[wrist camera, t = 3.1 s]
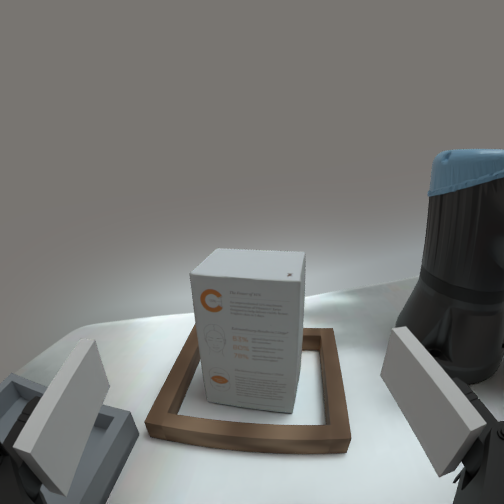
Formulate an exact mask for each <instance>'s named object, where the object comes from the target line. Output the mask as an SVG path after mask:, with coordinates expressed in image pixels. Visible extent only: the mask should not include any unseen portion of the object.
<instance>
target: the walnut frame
mask: <svg viewBox="0 0 504 504" xmlns="http://www.w3.org/2000/svg"><path fill="white" fill-rule="evenodd" d="M302 350H319V351H320V361H321V371H322V381H323V392H324V404H325V417H326V425H274V424H255V423H242V422H231V421H221V420H212V419H204V418H197V417H190V416H183V415H177V413H178V411H179V409H180V406H181V404H182V402H183V399H184V397H185V394H186V392H187V390H188V387H189V385H190V382H191V380H192V378H193V375H194V373H195V371H196V368H197V366H198V363H199V361H200V352H199V344H198V337H197V330H196V323H195V325H194V327H193V329H192V331H191V333H190V335H189V337H188V338H187V340H186V342H185V344H184V346H183V348H182V350H181V352H180V354H179V356H178V358H177V359H176V361H175V363H174V365H173V367H172V369H171V371H170V373H169V375H168V377H167V379H166V381H165V383H164V385H163V386H162V388H161V390H160V392H159V394H158V396H157V398H156V400H155V402H154V404H153V406H152V408H151V410H150V412H149V414H148V416H147V418H146V420H145V422H144V423H145V425H146V428H147V430H148V433H149V435H150V437H154V438H159V439H164V440H169V441H174V442H179V443H185V444H191V445H197V446H204V447H211V448H219V449H228V450H237V451H248V452H263V453H284V454H327V453H347V450H348V447H349V444H350V441H351V432H350V425H349V418H348V411H347V405H346V399H345V392H344V386H343V380H342V375H341V369H340V363H339V358H338V352H337V347H336V342H335V336H334V331H333V328H303V340H302Z"/></svg>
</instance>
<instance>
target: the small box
mask: <svg viewBox="0 0 504 504" xmlns="http://www.w3.org/2000/svg"><path fill="white" fill-rule="evenodd" d="M305 262H306V261H305V252H290V251H289V252H288V251H267V250H243V249H219V248H217V249H216V250H215V251H214V252H212V253H211V254H210V255H209V256H208V257H207V258H206V259H205V260H204V261H203V262H202V263H200V264H199V265H198V267H196V268H195V269H194V270H193V271H192V272H191V273H190V281H191V288H192V298H193V306H194V315H195V323H196V330H197V337H198V344H199V352H200V359H201V366H202V373H203V379H204V385H205V391H206V396H207V401H208V402H214V403H220V404H226V405H232V406H238V407H245V408H252V409H260V410H268V411H276V412H286V413H292V412H293V409H294V403H295V398H296V392H297V386H298V381H299V375H300V367H301V354H302V340H303V319H304V298H305Z"/></svg>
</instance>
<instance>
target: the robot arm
mask: <svg viewBox="0 0 504 504" xmlns="http://www.w3.org/2000/svg"><path fill="white" fill-rule="evenodd" d="M428 196H429V208H428V219H427V228H426V237H425V245H424V251H423V258H422V265H421V272H420V276H419V280H418V282H417V284H416V286H415V288H414V290H413V292H412V293H411V295H410V297H409V299H408V301H407V302H406V304H405V306H404V308H403V310H402V311H401V313H400V315H399V317H398V319H397V321H396V326H395V328H392V330H391V334H390V339H389V343H388V347H387V351H386V355H385V359H384V363H383V367H382V371H381V374H380V376H381V377H382V379H383V381H384V382H385V384H386V386H387V387H388V389H389V391H390V392H391V394H392V396H393V397H394V399H395V401H396V402H397V404H398V406H399V408H400V409H401V411H402V413H403V414H404V416H405V418H406V420H407V421H408V423H409V425H410V426H411V428H412V430H413V432H414V433H415V435H416V437H417V439H418V440H419V442H420V444H421V446H422V448H423V449H424V451H425V453H426V455H427V457H428V458H429V460H430V462H431V464H432V466H433V468H434V469H435V471H436V473H437V475H438V477H441V476H443V475H446V474H448V473H450V472H452V471H455V469H456V468H457V467H458V465H459V464H460V463H461V462H462V463H463V465H464V466H465V467H464V468H463V469H462V470H461V472H460V473H459V474H458V476H457V477H456V478H455V480H454V482H453V483H456V482H457V481H458V479H459V478H460V480H459V483H458V487H457V491H456V494H455V498H454V501H453V504H504V421H500V422H498V421H497V420H496V419H495V418H494V416H493V415H492V414H491V413H490V411H489V410H488V409H487V408H486V407H485V405H484V404H483V403H482V402H481V400H480V399H478V397H477V396H476V394H475V393H473V391H472V390H471V388H470V387H469V386H468V385H467V384H472V383H477V382H480V381H483V380H485V379H487V378H489V377H490V376H491V375H493V374H494V373H495V371H496V370H497V369H498V367H499V364H500V362H501V360H502V357H503V355H504V150H499V149H459V150H448V151H443V152H441V153H439V154H438V155H437V156H436V157H435V159H434V161H433V164H432V172H431V182H430V190H429V191H428ZM109 388H110V385H109V382H108V379H107V376H106V373H105V370H104V367H103V364H102V361H101V358H100V355H99V351H98V348H97V345H96V341H95V340H93V339H80V340H79V342H78V343H77V345H76V346H75V347H74V349H73V350H72V352H71V353H70V355H69V356H68V358H67V359H66V361H65V362H64V364H63V365H62V367H61V368H60V370H59V371H58V373H57V374H56V376H55V377H54V379H53V380H52V382H51V383H50V385H49V386H48V388H47V390H46V391H45V393H44V394H43V396H42V397H38V396H35V397H34V398H33V399H32V400H30V401H29V402H28V403H27V404H26V406H25V407H24V409H23V410H22V414H20V415H19V417H18V418H17V421H16V422H15V423H14V425H13V426H12V428H11V430H10V431H9V433H8V435H7V437H6V438H5V440H4V442H3V443H1V442H0V504H47V502H46V500H45V497H44V495H43V493H42V492H41V490H40V488H41V486H42V484H43V485H44V486H45V487H46V488H47V489H48V490H49V492H52V493H55V494H58V495H61V496H65V497H67V494H68V491H69V488H70V486H71V483H72V480H73V477H74V474H75V472H76V469H77V466H78V464H79V461H80V458H81V456H82V453H83V450H84V448H85V445H86V443H87V440H88V438H89V435H90V433H91V430H92V428H93V425H94V423H95V420H96V418H97V416H98V413H99V411H100V408H101V406H102V404H103V401H104V399H105V397H106V394H107V392H108V390H109Z"/></svg>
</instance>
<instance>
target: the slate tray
mask: <svg viewBox="0 0 504 504" xmlns="http://www.w3.org/2000/svg"><path fill="white" fill-rule="evenodd" d="M47 388H48V387H46V386H43V385H41V384H38V383H35V382H33V381H30V380H28V379H25V378H23V377H20V376H18V375H15V374H13V373H11V374H10V375H9V376H8V377H7V378H6V379H5V380H4V381H3V382H2V383H1V384H0V442H1V443H3V442H4V440H5V438H6V437H7V435H8V433H9V431H10V430H11V428H12V426H13V425H14V423H15V422H16V421H17V418H18V417H19V415H20V414H22V410H23V409H24V407H25V406H26V404H27V403H28V402H29V401H30V400H32V399H33V398H34V397H35V396H38V397H42V396H43V394H44V393H45V391H46V390H47ZM138 436H139V432H138V429H137V427H136V425H135V422H134V420H133V417H132V415H131V412H130V411H126V410H122V409H118V408H114V407H110V406H106V405H102V406H101V408H100V411H99V413H98V416H97V418H96V420H95V423H94V425H93V428H92V430H91V433H90V435H89V438H88V440H87V443H86V445H85V448H84V450H83V453H82V456H81V458H80V461H79V464H78V466H77V469H76V472H75V474H74V477H73V480H72V483H71V486H70V488H69V491H68V494H67V497H65V496H61V495H58V494H55V493H52V492H49V490H48V489H47V488H46V487H45V486H44V485H43V484H42V486H41V488H40V490H41V492H42V493H43V495H44V497H45V500H46V502H47V504H105V503H106V501H107V499H108V497H109V495H110V493H111V491H112V489H113V487H114V485H115V483H116V480H117V478H118V476H119V474H120V472H121V470H122V468H123V466H124V464H125V462H126V460H127V458H128V456H129V454H130V452H131V450H132V448H133V446H134V444H135V442H136V440H137V438H138Z"/></svg>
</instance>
